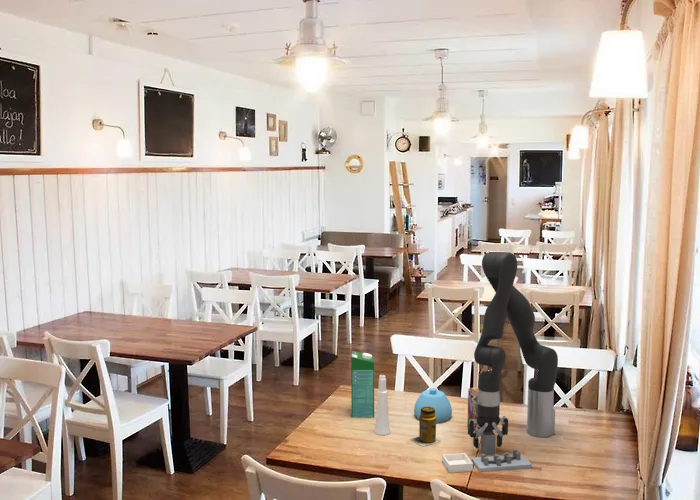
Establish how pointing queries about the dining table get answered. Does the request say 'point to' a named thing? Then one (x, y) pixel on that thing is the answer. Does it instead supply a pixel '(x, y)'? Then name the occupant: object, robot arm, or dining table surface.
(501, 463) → the board
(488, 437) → the block
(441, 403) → the sugar bowl
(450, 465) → the white square tray
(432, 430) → the condiment
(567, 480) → the dining table surface
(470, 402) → the candy box
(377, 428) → the cosmetic bottle
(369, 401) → the milk carton
